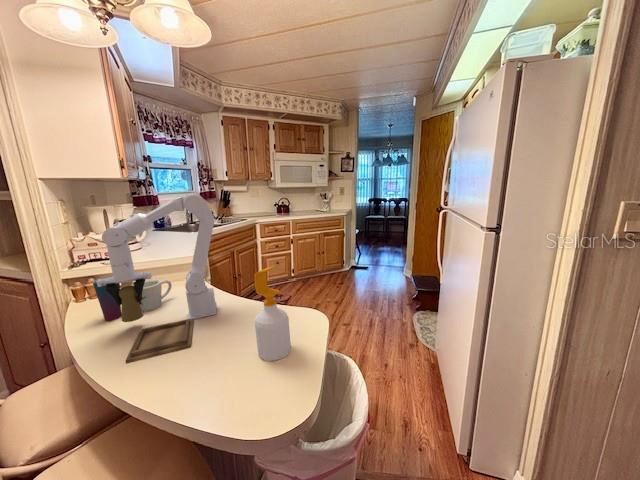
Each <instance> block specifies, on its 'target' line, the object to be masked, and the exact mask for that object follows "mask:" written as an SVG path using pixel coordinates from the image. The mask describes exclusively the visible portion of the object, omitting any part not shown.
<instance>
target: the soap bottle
mask: <svg viewBox="0 0 640 480" xmlns="http://www.w3.org/2000/svg"><path fill="white" fill-rule="evenodd" d="M276 268H277V267H276V266H275V265H273V266H269V267H266V268H264V269H260V270H259V271H256V272H255V273H254V276H253V277H254V278H253V280H254V288H255V293H256V294H257V295H259V296H263V297H264V299H265V300H264V301H263V308H264V309H262V311H260V312H259V313H258V314H257V315H256V316H255V319H254V327H255V328H254V329H255V338H256V347H257V355H258V356H259V358H260V359H262V360H264V361H268V362H273V361H278V360H281V359H283V358H285V357H288V355H289V353H290V352H291V349H292V346H291V344H292V343H291V332H290V320H289V318H290V317H289V315H288V314H287V312H286V311H285V310H283V309H282V308H280V307H278V306H277V300H276V299H274V297H275V296H276V295H277V294H279V293H280V290H279V289H275V288H271V287H269V286H268V282H267V281H268V280H267V279H268V278H267V272H269V271H271V270H273V269H276Z"/></svg>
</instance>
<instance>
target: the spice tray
mask: <svg viewBox="0 0 640 480" xmlns="http://www.w3.org/2000/svg"><path fill="white" fill-rule="evenodd" d="M194 324H195V322H194V319H191V320H190V319H188V318H187V319H182V320H177V321H171V322H169V323H164V324H163V323H162V324H159V325H154V326H149V327H144V328H141V330H140V331H139V332H138V334H137V336H136V338H135V340H134V342H133V344H132V346H131V349H130V350H129V353H128V355H127V356H126V359H125V363H126V364H128V363H133V362H137V361H139V360H140V361H141V360H144V359H148V358H153V357H156V356H160V355H164V354H169V353H172V352H177V351H181V350H184V349H185V350H186V349H189V348H192V340H193V332H194Z"/></svg>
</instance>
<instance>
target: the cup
mask: <svg viewBox="0 0 640 480" xmlns="http://www.w3.org/2000/svg"><path fill="white" fill-rule="evenodd" d="M109 277H113V275H112V276H111V275H110V276H105V277H101V278H97V279H95V280H93V281H92V284H93V289H94V291H95V293H96V297H97V301H98V302H99V305H100V309H101V312H102V315H103V318H104V321H106V322H112V321H115V320H118V319H120V318H122V304H121V305H119V306H118V304H117V302H116V301H115V299H114V298H113V297H112V295H111V294H110V293H108V292H107V291H106V290H105V288H106V285H104V286H101V287H98V286H97V282H96V281H98V280H99V279H105V278H109Z"/></svg>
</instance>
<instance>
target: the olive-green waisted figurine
mask: <svg viewBox="0 0 640 480" xmlns="http://www.w3.org/2000/svg"><path fill="white" fill-rule="evenodd" d="M118 294H119V297H120V298H121V302H122V304H121V312H122V316H121V322H123V323H131V322H132V323H133V322H134V321H135V322H136V321H137V320H141V319H142V318H143V317H144V313H143V311H142V310H141V307H140V304H139V302H138V299H137V293H136V289H135V287H134V286H132V285H125V286H123V287H120V289H119V291H118Z"/></svg>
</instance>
